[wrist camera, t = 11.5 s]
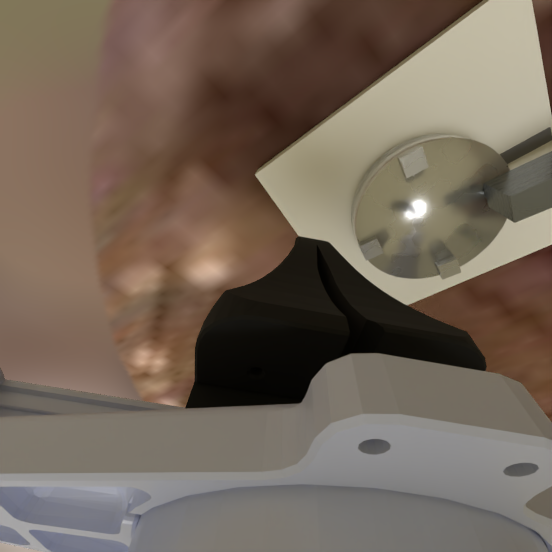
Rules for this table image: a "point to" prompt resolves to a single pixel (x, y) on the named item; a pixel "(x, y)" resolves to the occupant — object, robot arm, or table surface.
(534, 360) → the table surface
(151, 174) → the table surface
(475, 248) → the grey metal handled bowl
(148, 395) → the table surface
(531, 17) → the cap plate
